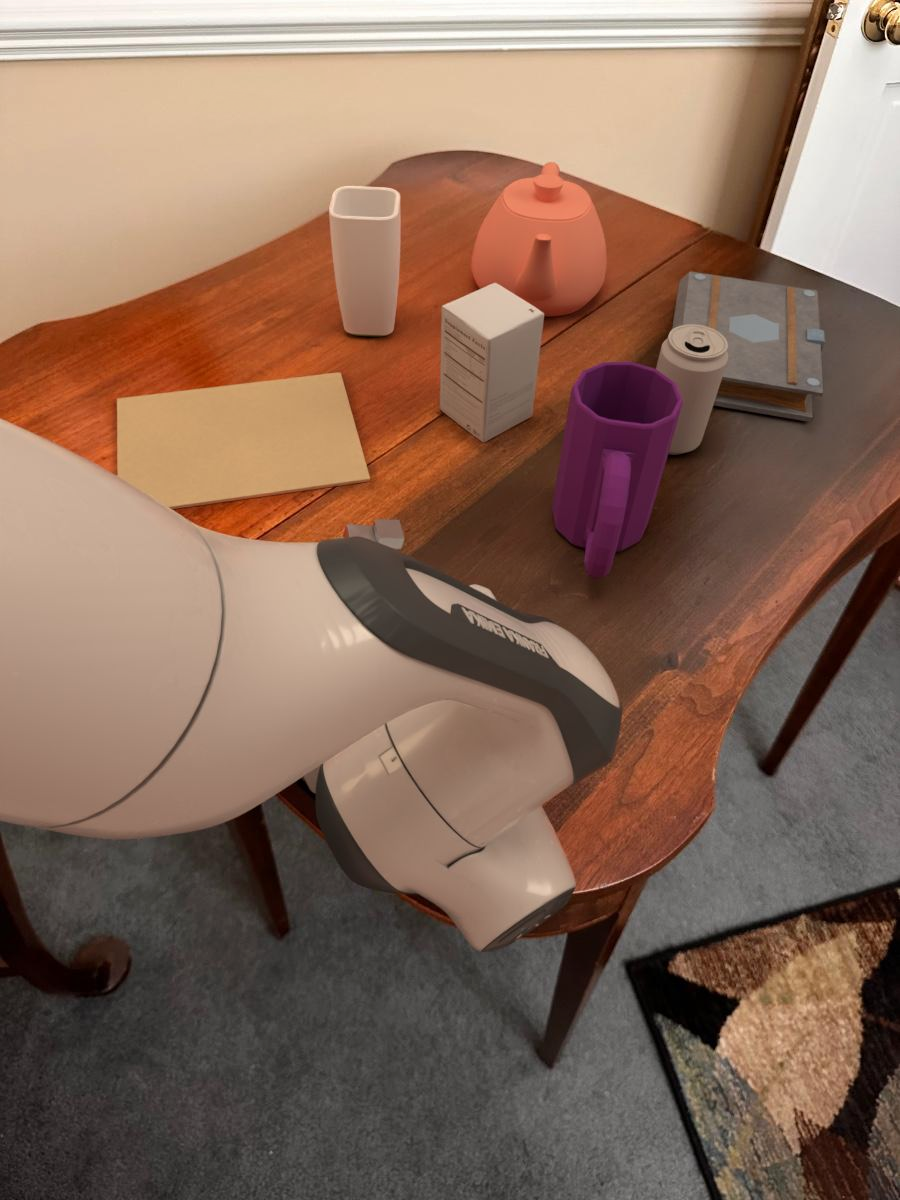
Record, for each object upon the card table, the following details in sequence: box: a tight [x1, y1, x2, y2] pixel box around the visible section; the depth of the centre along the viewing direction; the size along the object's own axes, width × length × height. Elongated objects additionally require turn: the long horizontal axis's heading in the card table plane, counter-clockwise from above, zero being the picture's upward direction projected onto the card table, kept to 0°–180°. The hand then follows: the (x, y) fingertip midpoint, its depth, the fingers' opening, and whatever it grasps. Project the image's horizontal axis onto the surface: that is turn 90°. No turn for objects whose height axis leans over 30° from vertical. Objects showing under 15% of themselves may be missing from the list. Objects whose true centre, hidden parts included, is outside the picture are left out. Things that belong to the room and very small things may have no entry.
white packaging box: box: [439, 283, 545, 444], centre depth 88 cm, size 7×7×13 cm
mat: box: [116, 371, 371, 510], centre depth 89 cm, size 24×18×1 cm
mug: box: [551, 361, 683, 580], centre depth 75 cm, size 9×16×15 cm, turn 170°
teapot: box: [470, 161, 608, 317], centre depth 105 cm, size 25×17×13 cm
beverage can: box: [655, 324, 728, 456], centre depth 87 cm, size 6×6×12 cm
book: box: [671, 270, 826, 423], centre depth 100 cm, size 21×16×5 cm
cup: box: [328, 185, 402, 337], centre depth 98 cm, size 7×7×15 cm
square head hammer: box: [342, 523, 376, 542], centre depth 67 cm, size 2×2×9 cm
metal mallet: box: [371, 518, 406, 550], centre depth 67 cm, size 2×2×9 cm
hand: (345, 593), depth 70 cm, fingers open, 7 cm apart
